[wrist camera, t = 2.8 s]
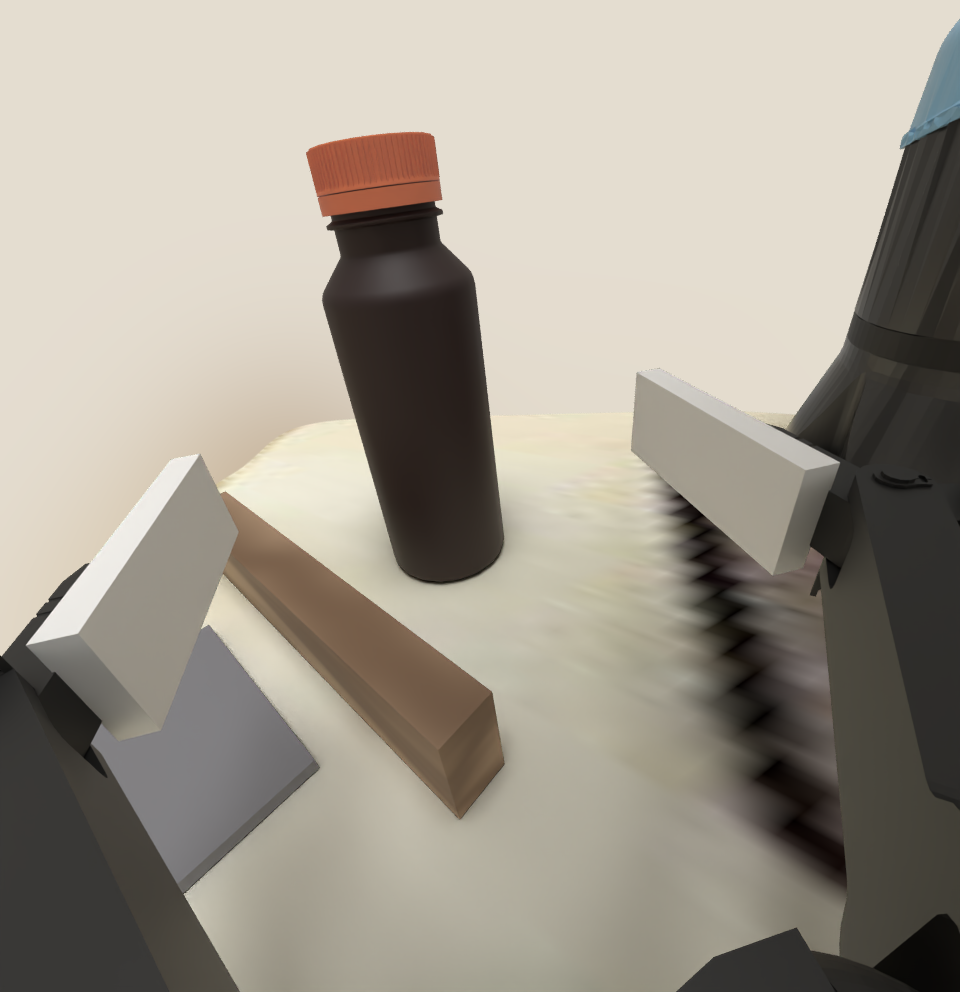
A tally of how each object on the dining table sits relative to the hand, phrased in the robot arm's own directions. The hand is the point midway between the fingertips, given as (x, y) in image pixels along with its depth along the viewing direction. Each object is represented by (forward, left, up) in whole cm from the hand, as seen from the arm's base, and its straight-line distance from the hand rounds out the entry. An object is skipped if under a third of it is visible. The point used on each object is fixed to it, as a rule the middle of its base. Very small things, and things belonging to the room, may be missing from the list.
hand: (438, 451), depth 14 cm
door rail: (+3, -8, -11) cm, 14 cm away
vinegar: (-6, -8, -12) cm, 15 cm away
